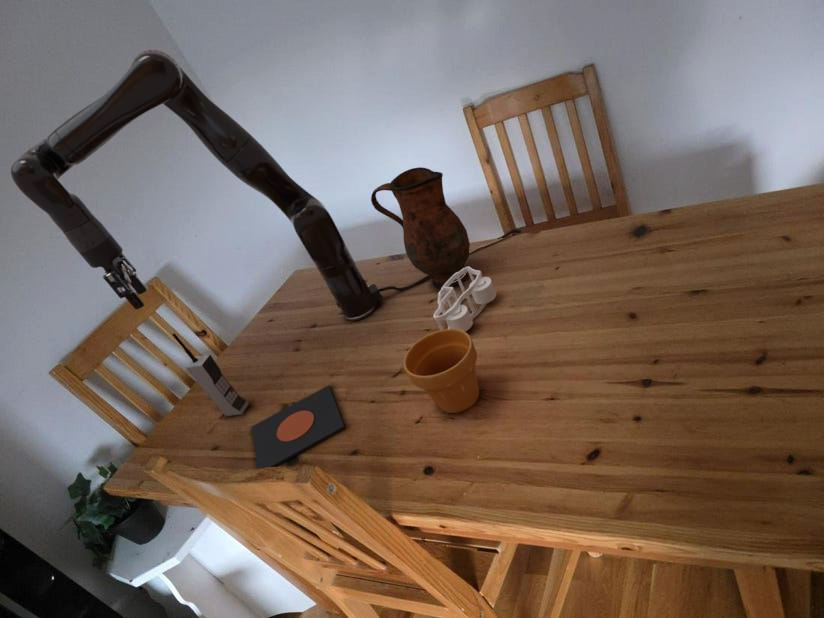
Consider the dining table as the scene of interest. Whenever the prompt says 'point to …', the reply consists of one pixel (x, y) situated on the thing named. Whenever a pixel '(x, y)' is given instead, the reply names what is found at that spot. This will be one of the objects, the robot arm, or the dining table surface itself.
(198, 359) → the vintage mobile phone
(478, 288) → the skeletal toy car
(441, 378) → the flower pot
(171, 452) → the dining table surface
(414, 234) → the pitcher
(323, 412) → the mat
